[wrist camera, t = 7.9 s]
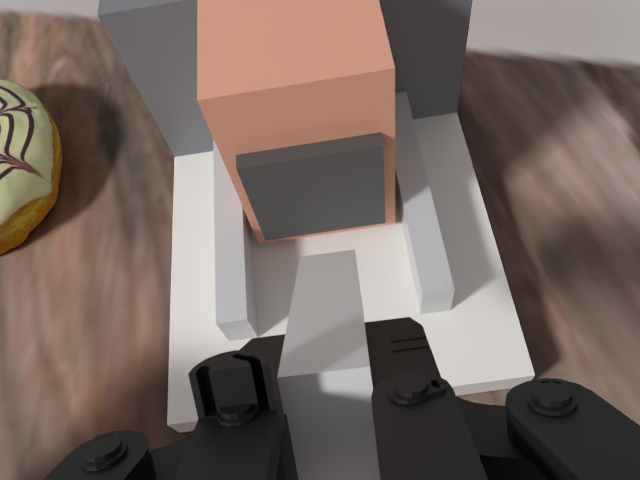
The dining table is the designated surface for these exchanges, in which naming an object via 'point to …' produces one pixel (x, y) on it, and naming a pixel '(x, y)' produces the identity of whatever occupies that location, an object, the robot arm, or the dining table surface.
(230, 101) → the plug block
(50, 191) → the decorated donut
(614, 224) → the dining table surface
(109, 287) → the dining table surface
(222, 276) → the stand
